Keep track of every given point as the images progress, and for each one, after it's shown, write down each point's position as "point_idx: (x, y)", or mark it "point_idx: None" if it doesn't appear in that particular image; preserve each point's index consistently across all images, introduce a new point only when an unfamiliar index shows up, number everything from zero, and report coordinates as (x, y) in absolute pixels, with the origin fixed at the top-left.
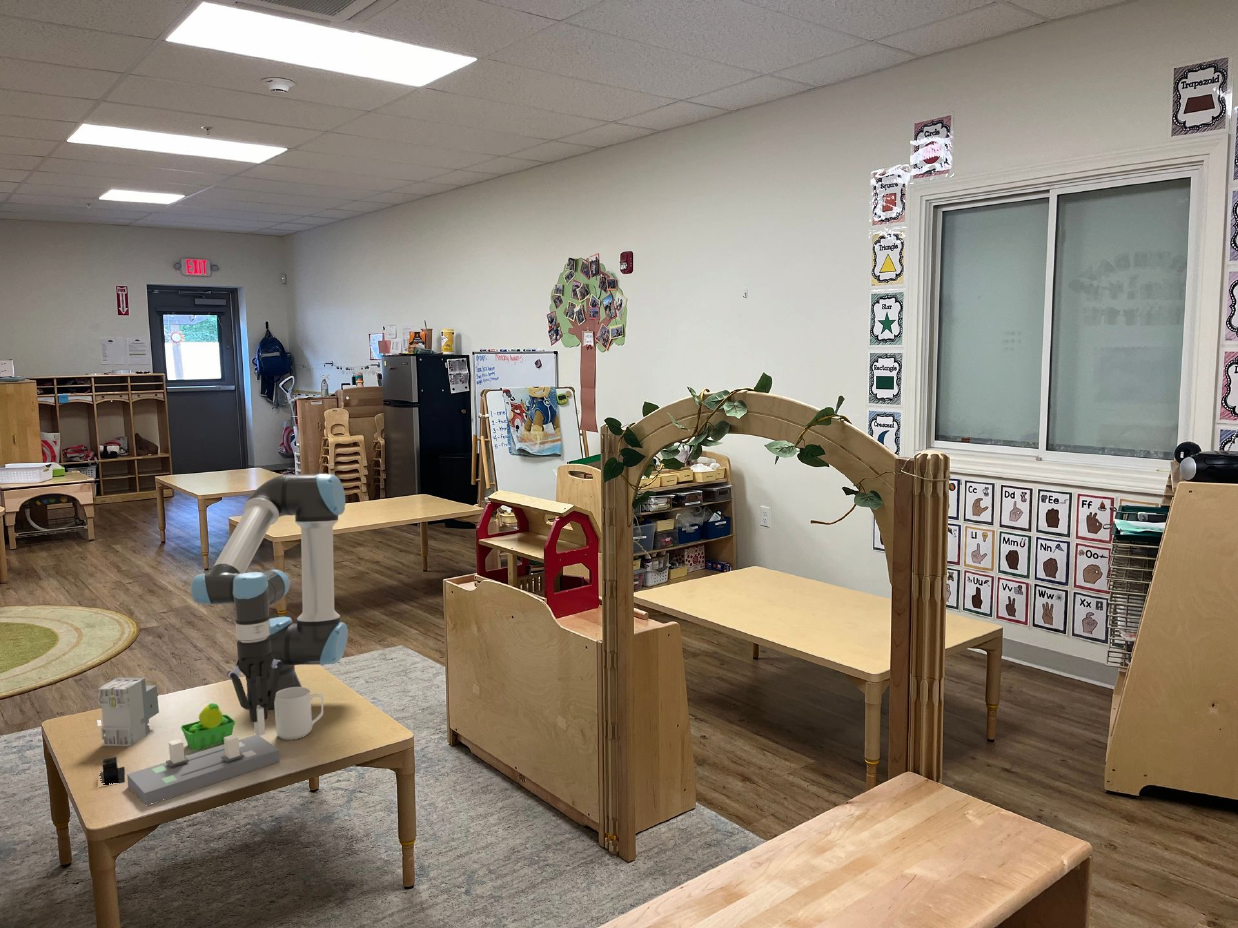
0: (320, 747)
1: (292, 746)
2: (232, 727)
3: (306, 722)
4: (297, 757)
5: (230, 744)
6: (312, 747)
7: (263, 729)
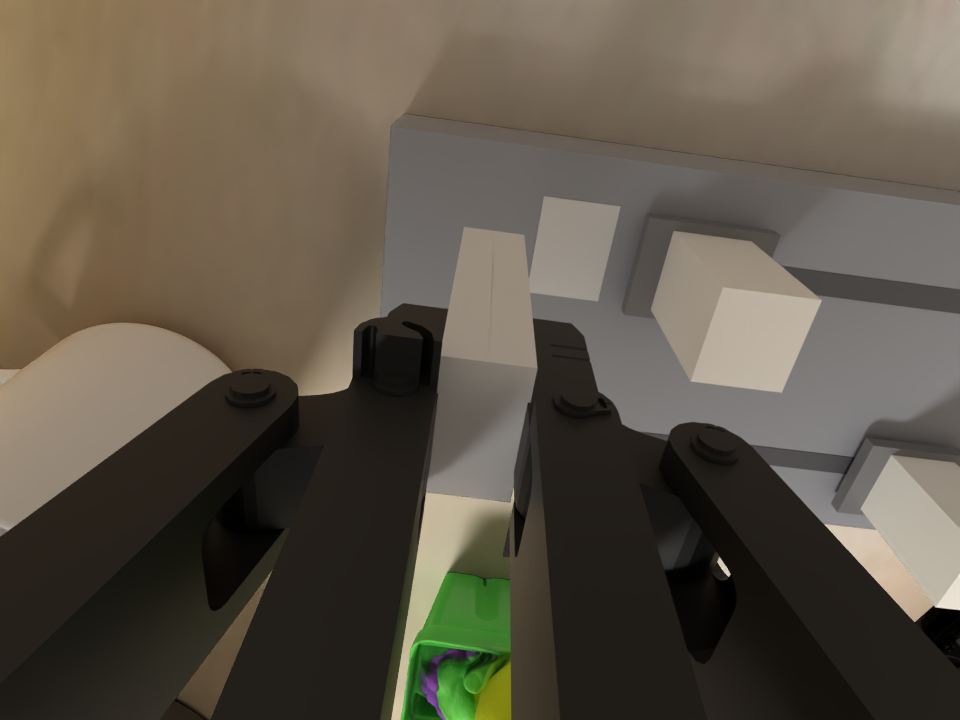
0: (88, 79)
1: (240, 261)
2: (435, 620)
3: (51, 358)
4: (285, 64)
5: (781, 278)
6: (137, 131)
7: (476, 244)
